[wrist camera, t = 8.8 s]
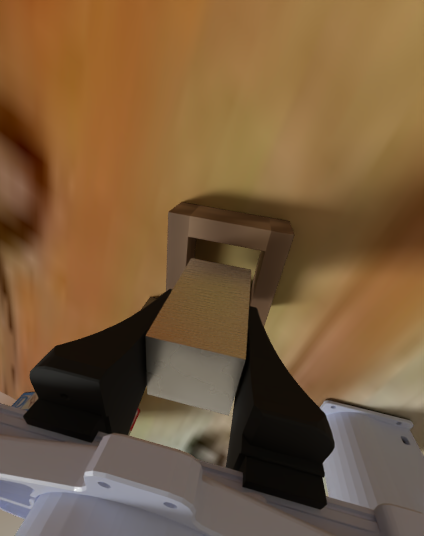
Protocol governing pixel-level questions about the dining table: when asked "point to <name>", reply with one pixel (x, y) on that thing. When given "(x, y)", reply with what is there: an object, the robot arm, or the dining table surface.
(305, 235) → the dining table surface
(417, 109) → the dining table surface
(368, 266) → the dining table surface
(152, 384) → the block
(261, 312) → the walnut bore block
